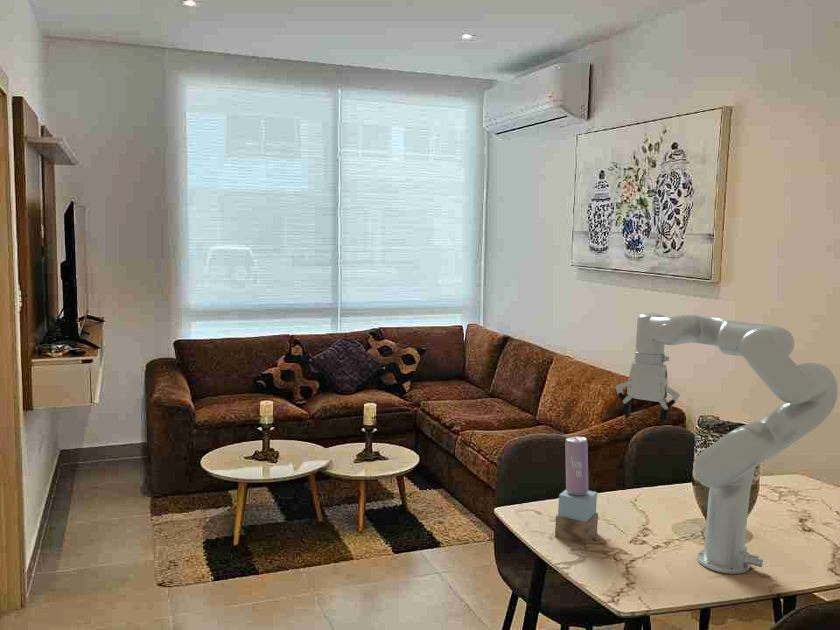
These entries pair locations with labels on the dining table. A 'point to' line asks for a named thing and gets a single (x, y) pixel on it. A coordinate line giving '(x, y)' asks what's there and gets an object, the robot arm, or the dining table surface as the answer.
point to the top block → (577, 505)
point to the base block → (576, 529)
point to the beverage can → (576, 465)
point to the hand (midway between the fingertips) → (645, 419)
